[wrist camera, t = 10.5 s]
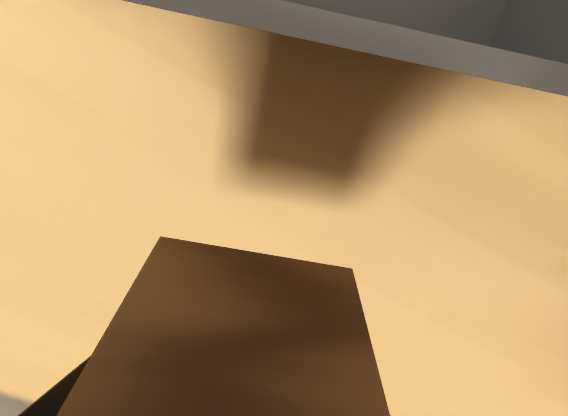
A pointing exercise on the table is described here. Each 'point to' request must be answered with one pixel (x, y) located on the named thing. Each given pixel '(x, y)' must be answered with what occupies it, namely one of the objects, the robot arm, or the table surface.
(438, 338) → the table surface
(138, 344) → the walnut cube
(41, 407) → the robot arm
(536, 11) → the tote
